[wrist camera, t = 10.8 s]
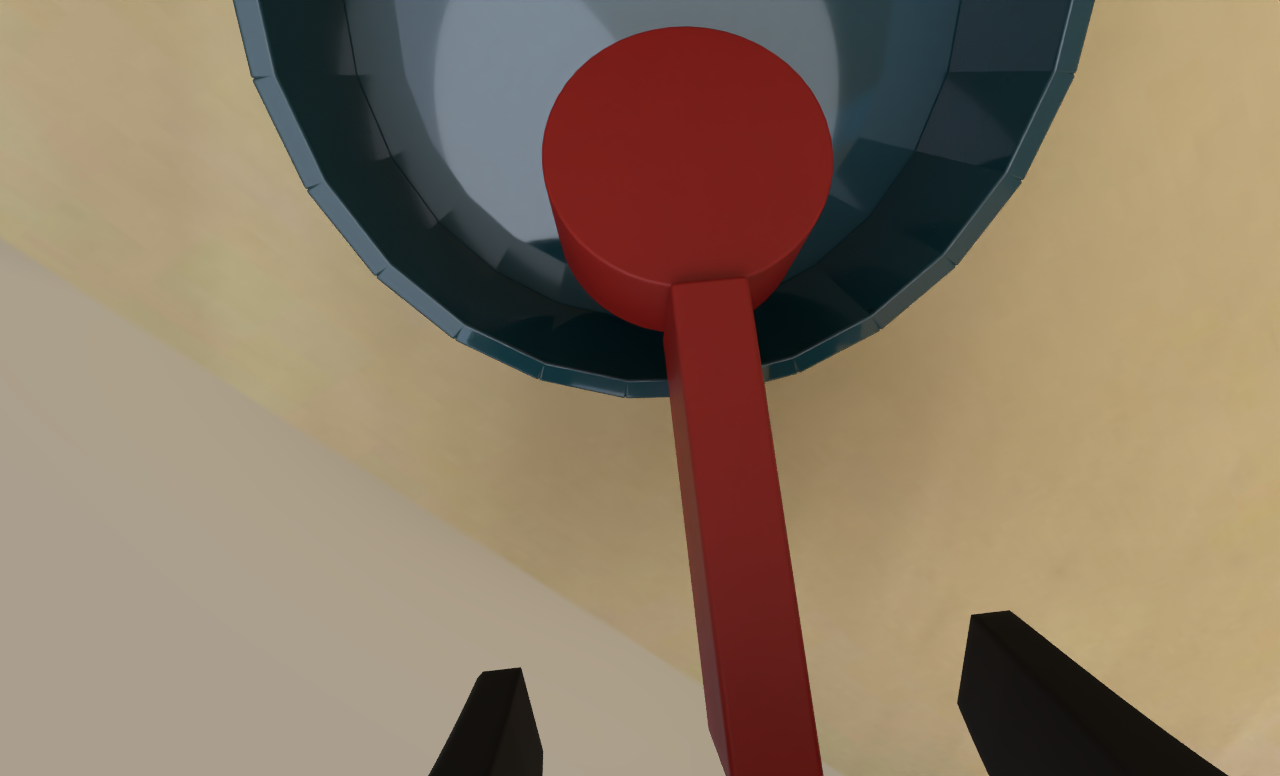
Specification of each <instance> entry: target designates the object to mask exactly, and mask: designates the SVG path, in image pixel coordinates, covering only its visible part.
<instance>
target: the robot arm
mask: <svg viewBox="0 0 1280 776" xmlns="http://www.w3.org/2000/svg"><path fill="white" fill-rule="evenodd" d="M957 704H958V706H959V709H960V711H961V713H962V716H963V718H964V720H965V723H966V725H967V727H968V730H969V732H970V735H971V737H972V739H973V742H974V744H975V746H976V748H977V750H978V753H979V755H980V757H981V759H982V761H983V764H984V766H985V768H986V770H987V772H988V774H989V776H1228V775H1226V774H1225V773H1224V772H1222V771H1221V770H1219V769H1218V768H1216V767H1215V766H1213V765H1212V764H1211V763H1209V762H1208V761H1206V760H1205V759H1203V758H1202V757H1201V756H1199V755H1198V754H1196V753H1195V752H1194V751H1192V750H1191V749H1189V748H1188V747H1187V746H1185V745H1184V744H1183V743H1181V742H1180V741H1178V740H1177V739H1176V738H1174V737H1173V736H1171V735H1170V734H1169V733H1167V732H1166V731H1165V730H1163V729H1162V728H1161V727H1159V726H1158V725H1157V724H1155V723H1154V722H1153V721H1151V720H1150V719H1149V718H1147V717H1146V716H1145V715H1143V714H1142V713H1141V712H1139V711H1138V710H1137V709H1135V708H1134V707H1133V706H1131V705H1130V704H1129V703H1127V702H1126V701H1125V700H1123V699H1122V698H1121V697H1119V696H1118V695H1117V694H1116V693H1114V692H1113V691H1112V690H1110V689H1109V688H1108V687H1106V686H1105V685H1104V684H1103V683H1101V682H1100V681H1099V680H1097V679H1096V678H1095V677H1094V676H1092V675H1091V674H1090V673H1089V672H1087V671H1086V670H1085V669H1083V668H1082V667H1081V666H1080V665H1078V664H1077V663H1076V662H1074V661H1073V660H1072V659H1071V658H1069V657H1068V656H1067V655H1066V654H1064V653H1063V652H1062V651H1061V650H1059V649H1058V648H1057V647H1056V646H1054V645H1053V644H1052V643H1050V642H1049V641H1048V640H1047V639H1045V638H1044V637H1043V636H1042V635H1040V634H1039V633H1038V632H1037V631H1035V630H1034V629H1033V628H1032V627H1030V626H1029V625H1028V624H1026V623H1025V622H1024V621H1023V620H1021V619H1020V618H1019V617H1017V616H1016V615H1015V614H1014V613H1012V612H1011V611H1010V610H1008V611H1000V612H991V613H983V614H974V615H971V619H970V625H969V632H968V638H967V644H966V651H965V657H964V663H963V670H962V676H961V682H960V689H959V695H958V701H957ZM542 773H543V749H542V745H541V741H540V738H539V734H538V730H537V727H536V722H535V719H534V715H533V711H532V707H531V703H530V700H529V696H528V692H527V688H526V684H525V681H524V677H523V673H522V669H521V668H511V669H503V670H495V671H485V672H482V674H481V675H480V676H479V677H478V678H477V680H476V682H475V685H474V687H473V689H472V691H471V693H470V695H469V697H468V700H467V702H466V704H465V706H464V708H463V710H462V712H461V714H460V716H459V718H458V720H457V722H456V724H455V726H454V728H453V730H452V732H451V734H450V736H449V738H448V740H447V742H446V744H445V746H444V747H443V749H442V751H441V753H440V755H439V757H438V759H437V761H436V763H435V765H434V766H433V768H432V770H431V772H430V774H429V775H428V776H542Z"/></svg>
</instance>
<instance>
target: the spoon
mask: <svg viewBox="0 0 1280 776" xmlns="http://www.w3.org/2000/svg"><path fill="white" fill-rule="evenodd" d="M542 169H543V175H544V182H545V186H546V190H547V193H548V197H549V201H550V205H551V209H552V212H553V216H554V220H555V224H556V228H557V232H558V235H559V239H560V243H561V246H562V250H563V253H564V256H565V259H566V261H567V263H568V265H569V267H570V269H571V272H572V273H573V275H574V276H575V278H576V279H577V281H578V282H579V284H580V285H581V286H582V287H583V289H584V290H585V291H586V292H587V293H588V294H589V296H590V297H592V298H593V299H594V300H595V301H596V302H597V303H598V304H599V305H601V306H602V307H603V308H605V309H606V310H608V311H609V312H611V313H612V314H614V315H615V316H617V317H619V318H621V319H623V320H625V321H627V322H629V323H632V324H634V325H637V326H640V327H643V328H646V329H651V330H656V331H660V332H664V336H663V345H664V353H665V362H666V370H667V379H668V387H669V396H670V404H671V413H672V421H673V430H674V438H675V447H676V455H677V464H678V472H679V481H680V489H681V498H682V506H683V515H684V523H685V532H686V540H687V549H688V557H689V566H690V574H691V583H692V591H693V600H694V608H695V617H696V625H697V634H698V642H699V651H700V659H701V668H702V676H703V685H704V693H705V702H706V710H707V718H708V727H709V731H710V734H711V737H712V739H713V742H714V745H715V747H716V750H717V753H718V755H719V758H720V761H721V764H722V766H723V769H724V772H725V775H726V776H823V770H822V763H821V756H820V750H819V743H818V737H817V730H816V723H815V717H814V710H813V703H812V697H811V690H810V683H809V677H808V670H807V664H806V657H805V650H804V644H803V637H802V630H801V624H800V617H799V611H798V604H797V597H796V591H795V584H794V577H793V571H792V564H791V558H790V551H789V544H788V538H787V531H786V524H785V518H784V511H783V504H782V498H781V491H780V485H779V478H778V471H777V465H776V458H775V451H774V445H773V438H772V432H771V425H770V418H769V412H768V405H767V398H766V392H765V385H764V378H763V372H762V365H761V359H760V352H759V345H758V339H757V332H756V325H755V319H754V312H753V310H755V309H756V308H757V307H758V306H759V305H761V304H762V303H763V302H764V301H766V299H767V298H768V297H769V296H770V295H771V294H772V293H773V292H774V291H775V290H776V289H777V287H778V286H779V284H780V283H781V281H782V280H783V279H784V277H785V275H786V274H787V272H788V270H789V269H790V267H791V265H792V263H793V262H794V260H795V258H796V256H797V255H798V253H799V251H800V250H801V248H802V246H803V244H804V243H805V241H806V239H807V238H808V236H809V234H810V232H811V231H812V229H813V227H814V226H815V224H816V222H817V220H818V218H819V216H820V214H821V212H822V210H823V208H824V206H825V203H826V200H827V197H828V194H829V191H830V187H831V181H832V175H833V148H832V139H831V135H830V131H829V127H828V124H827V120H826V118H825V115H824V113H823V111H822V108H821V106H820V104H819V102H818V101H817V99H816V97H815V95H814V94H813V92H812V90H811V89H810V88H809V87H808V85H807V84H806V83H805V81H804V80H803V79H802V78H801V76H800V75H799V74H798V73H797V72H796V71H795V70H794V69H793V68H792V67H791V66H790V65H789V64H787V63H786V62H785V61H783V60H782V59H781V58H780V57H778V56H777V55H776V54H774V53H773V52H771V51H769V50H768V49H766V48H764V47H763V46H761V45H759V44H757V43H755V42H753V41H751V40H748V39H746V38H744V37H741V36H738V35H735V34H732V33H729V32H726V31H721V30H716V29H711V28H703V27H691V26H683V27H667V28H660V29H653V30H649V31H645V32H641V33H638V34H635V35H632V36H629V37H627V38H624V39H622V40H619V41H617V42H615V43H614V44H612V45H610V46H608V47H606V48H604V49H603V50H601V51H600V52H598V53H597V54H596V55H594V56H593V57H591V58H590V59H589V60H588V61H587V62H586V63H584V64H583V65H582V66H581V67H580V68H579V69H578V70H577V71H576V72H575V73H574V74H573V76H572V77H571V78H570V79H569V80H568V82H567V83H566V84H565V86H564V87H563V89H562V90H561V92H560V94H559V95H558V97H557V98H556V100H555V103H554V105H553V107H552V109H551V111H550V114H549V116H548V120H547V123H546V127H545V130H544V136H543V143H542Z"/></svg>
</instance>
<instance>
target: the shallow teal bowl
mask: <svg viewBox="0 0 1280 776" xmlns="http://www.w3.org/2000/svg"><path fill="white" fill-rule="evenodd" d="M1094 2H1095V0H233V3H234V7H235V11H236V16H237V20H238V24H239V28H240V32H241V36H242V41H243V45H244V49H245V53H246V57H247V61H248V65H249V70H250V74H251V76H252V78H254V79H253V82H254V84H255V86H256V89H257V91H258V93H259V95H260V97H261V99H262V101H263V103H264V105H265V107H266V109H267V111H268V113H269V115H270V117H271V119H272V121H273V123H274V125H275V127H276V129H277V131H278V134H279V136H280V138H281V140H282V142H283V144H284V146H285V148H286V150H287V152H288V154H289V156H290V158H291V160H292V162H293V164H294V166H295V168H296V170H297V172H298V174H299V177H300V179H301V181H302V183H303V185H304V187H305V188H306V189H308V190H307V191H308V193H309V194H310V196H311V197H312V198H313V199H314V201H315V202H316V203H317V204H318V206H319V207H320V208H321V209H322V211H323V212H324V213H325V214H326V216H327V217H328V218H329V219H330V221H331V222H332V223H333V224H334V226H335V227H336V228H337V229H338V231H339V232H340V233H341V234H342V236H343V237H344V238H345V239H346V241H347V242H348V243H349V244H350V246H351V247H352V248H353V249H354V251H355V252H356V253H357V254H358V256H359V257H360V258H361V259H362V261H363V262H364V263H365V264H366V266H367V267H368V268H369V269H370V271H371V272H372V273H373V274H374V275H375V276H377V278H378V279H379V280H380V281H381V282H382V283H384V284H385V285H386V286H388V287H389V288H390V289H391V290H393V291H394V292H395V293H396V294H398V295H399V296H400V297H401V298H403V299H404V300H405V301H406V302H408V303H409V304H410V305H411V306H413V307H414V308H415V309H416V310H418V311H419V312H420V313H421V314H423V315H424V316H425V317H426V318H428V319H429V320H430V321H431V322H433V323H434V324H435V325H436V326H438V327H439V328H440V329H441V330H443V331H444V332H445V333H446V334H448V335H449V336H450V337H451V338H453V339H454V338H455V340H456V341H458V342H460V343H462V344H464V345H466V346H468V347H471V348H473V349H475V350H477V351H479V352H481V353H483V354H485V355H487V356H489V357H492V358H494V359H496V360H498V361H500V362H502V363H504V364H506V365H508V366H511V367H513V368H515V369H517V370H519V371H521V372H523V373H525V374H527V375H529V376H532V377H534V378H536V379H540V380H542V381H547V382H551V383H556V384H561V385H565V386H570V387H575V388H580V389H584V390H589V391H594V392H598V393H603V394H608V395H613V396H617V397H622V398H625V397H626V398H655V397H670V396H669V387H668V379H667V370H666V362H665V353H664V345H663V336H664V332H660V331H656V330H651V329H646V328H643V327H640V326H637V325H634V324H632V323H629V322H627V321H625V320H623V319H621V318H619V317H617V316H615V315H614V314H612V313H611V312H609V311H608V310H606V309H605V308H603V307H602V306H601V305H599V304H598V303H597V302H596V301H595V300H594V299H593V298H592V297H590V296H589V294H588V293H587V292H586V291H585V290H584V289H583V287H582V286H581V285H580V284H579V282H578V281H577V279H576V278H575V276H574V275H573V273H572V272H571V269H570V267H569V265H568V263H567V261H566V259H565V256H564V253H563V250H562V246H561V243H560V239H559V235H558V232H557V228H556V224H555V220H554V216H553V212H552V209H551V205H550V201H549V197H548V193H547V190H546V186H545V182H544V175H543V169H542V143H543V136H544V130H545V127H546V123H547V120H548V116H549V114H550V111H551V109H552V107H553V105H554V103H555V100H556V98H557V97H558V95H559V94H560V92H561V90H562V89H563V87H564V86H565V84H566V83H567V82H568V80H569V79H570V78H571V77H572V76H573V74H574V73H575V72H576V71H577V70H578V69H579V68H580V67H581V66H582V65H583V64H584V63H586V62H587V61H588V60H589V59H590V58H591V57H593V56H594V55H596V54H597V53H598V52H600V51H601V50H603V49H604V48H606V47H608V46H610V45H612V44H614V43H615V42H617V41H619V40H622V39H624V38H627V37H629V36H632V35H635V34H638V33H641V32H645V31H649V30H653V29H660V28H667V27H683V26H691V27H703V28H711V29H716V30H721V31H726V32H729V33H732V34H735V35H738V36H741V37H744V38H746V39H748V40H751V41H753V42H755V43H757V44H759V45H761V46H763V47H764V48H766V49H768V50H769V51H771V52H773V53H774V54H776V55H777V56H778V57H780V58H781V59H782V60H783V61H785V62H786V63H787V64H789V65H790V66H791V67H792V68H793V69H794V70H795V71H796V72H797V73H798V74H799V75H800V76H801V78H802V79H803V80H804V81H805V83H806V84H807V85H808V87H809V88H810V89H811V90H812V92H813V94H814V95H815V97H816V99H817V101H818V102H819V104H820V106H821V108H822V111H823V113H824V115H825V118H826V120H827V124H828V127H829V131H830V135H831V139H832V148H833V175H832V181H831V187H830V191H829V194H828V197H827V200H826V203H825V206H824V208H823V210H822V212H821V214H820V216H819V218H818V220H817V222H816V224H815V226H814V227H813V229H812V231H811V232H810V234H809V236H808V238H807V239H806V241H805V243H804V244H803V246H802V248H801V250H800V251H799V253H798V255H797V256H796V258H795V260H794V262H793V263H792V265H791V267H790V269H789V270H788V272H787V274H786V275H785V277H784V279H783V280H782V281H781V283H780V284H779V286H778V287H777V289H776V290H775V291H774V292H773V293H772V294H771V295H770V296H769V297H768V298H767V299H766V301H764V302H763V303H762V304H761V305H759V306H758V307H757V308H756V309H755V310H753V312H754V319H755V325H756V332H757V339H758V345H759V352H760V359H761V365H762V372H763V378H764V382H768V381H771V380H775V379H779V378H783V377H787V376H790V375H794V374H797V373H798V372H802V371H804V370H806V369H808V368H810V367H812V366H814V365H815V364H817V363H819V362H821V361H823V360H825V359H827V358H829V357H831V356H833V355H834V354H836V353H838V352H840V351H842V350H844V349H846V348H848V347H850V346H852V345H853V344H855V343H857V342H859V341H861V340H863V339H865V338H867V337H869V336H871V335H873V334H874V333H876V332H878V331H879V329H883V328H884V327H885V326H886V325H887V324H889V323H890V322H891V321H892V320H893V319H895V318H896V317H897V316H898V315H899V314H900V313H902V312H903V311H904V310H905V309H906V308H908V307H909V306H910V305H911V304H912V303H914V302H915V301H916V300H917V299H918V298H919V297H921V296H922V295H923V294H924V293H925V292H927V291H928V290H929V289H930V288H931V287H933V286H934V285H935V284H936V283H937V282H938V281H940V280H941V279H942V278H943V277H944V276H946V275H947V274H948V273H949V272H950V271H952V270H953V269H954V268H955V265H958V264H959V262H960V261H961V260H962V259H963V257H964V256H965V255H966V254H967V252H968V251H969V250H970V248H971V247H972V246H973V245H974V243H975V242H976V241H977V239H978V238H979V237H980V236H981V234H982V233H983V232H984V230H985V229H986V228H987V227H988V225H989V224H990V223H991V221H992V220H993V219H994V218H995V216H996V215H997V214H998V212H999V211H1000V210H1001V209H1002V207H1003V206H1004V205H1005V203H1006V202H1007V201H1008V200H1009V198H1010V197H1011V196H1012V194H1013V193H1014V192H1015V191H1016V189H1017V188H1018V187H1019V186H1020V184H1021V182H1022V181H1021V180H1023V179H1024V178H1025V176H1026V174H1027V172H1028V170H1029V168H1030V166H1031V164H1032V162H1033V160H1034V158H1035V156H1036V154H1037V152H1038V150H1039V148H1040V145H1041V143H1042V141H1043V139H1044V137H1045V135H1046V133H1047V131H1048V129H1049V127H1050V125H1051V123H1052V121H1053V119H1054V117H1055V115H1056V113H1057V111H1058V109H1059V107H1060V105H1061V103H1062V101H1063V99H1064V97H1065V95H1066V93H1067V91H1068V89H1069V87H1070V85H1071V83H1072V81H1073V79H1074V75H1073V74H1074V73H1076V71H1077V67H1078V63H1079V59H1080V56H1081V52H1082V48H1083V44H1084V40H1085V36H1086V33H1087V29H1088V25H1089V21H1090V17H1091V13H1092V9H1093V6H1094Z"/></svg>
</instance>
